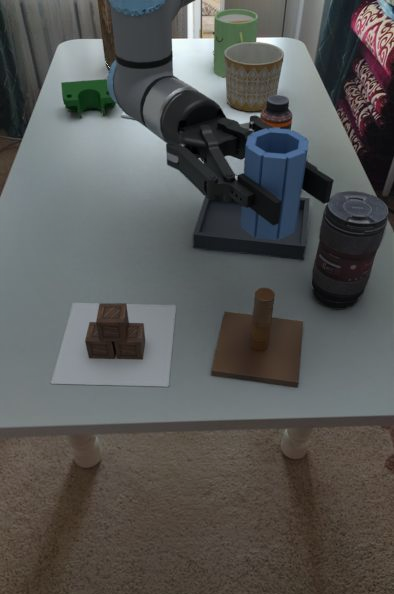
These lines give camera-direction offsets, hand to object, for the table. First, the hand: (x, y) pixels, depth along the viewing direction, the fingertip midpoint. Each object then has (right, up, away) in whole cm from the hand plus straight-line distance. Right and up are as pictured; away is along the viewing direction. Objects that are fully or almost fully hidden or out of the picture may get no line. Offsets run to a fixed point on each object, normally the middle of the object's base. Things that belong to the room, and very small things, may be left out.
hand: (303, 202), depth 58 cm
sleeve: (-3, -1, +7) cm, 7 cm away
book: (-29, +51, +76) cm, 96 cm away
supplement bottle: (+3, +22, +50) cm, 54 cm away
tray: (-2, +5, +34) cm, 34 cm away
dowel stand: (-3, -16, +16) cm, 22 cm away
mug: (-2, +53, +78) cm, 94 cm away
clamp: (-35, +37, +64) cm, 81 cm away
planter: (+1, +40, +66) cm, 78 cm away
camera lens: (+9, -8, +23) cm, 26 cm away
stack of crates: (-22, -15, +17) cm, 31 cm away
